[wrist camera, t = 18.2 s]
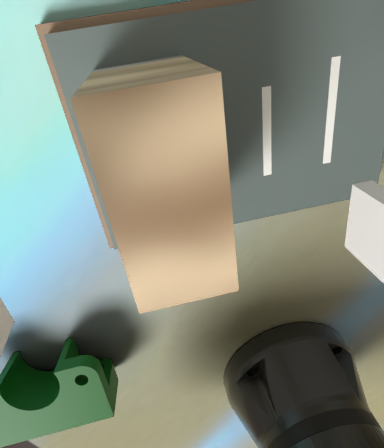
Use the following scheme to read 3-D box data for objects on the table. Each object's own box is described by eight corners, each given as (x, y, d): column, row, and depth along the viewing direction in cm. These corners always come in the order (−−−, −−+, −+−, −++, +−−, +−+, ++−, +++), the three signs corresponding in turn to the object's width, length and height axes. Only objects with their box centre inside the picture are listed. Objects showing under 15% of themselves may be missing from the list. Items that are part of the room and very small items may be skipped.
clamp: (89, 309, 35) (113, 351, 27) (104, 353, 37) (132, 405, 29) (-38, 366, 30) (-51, 438, 22) (-12, 414, 32) (-16, 496, 24)
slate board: (365, 187, 28) (380, 197, 26) (110, 241, 26) (109, 256, 24) (401, -32, 20) (427, -38, 18) (39, 25, 18) (30, 24, 16)
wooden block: (202, 207, 24) (238, 290, 16) (134, 221, 23) (139, 314, 16) (181, 54, 18) (220, 72, 11) (93, 69, 18) (70, 98, 10)
